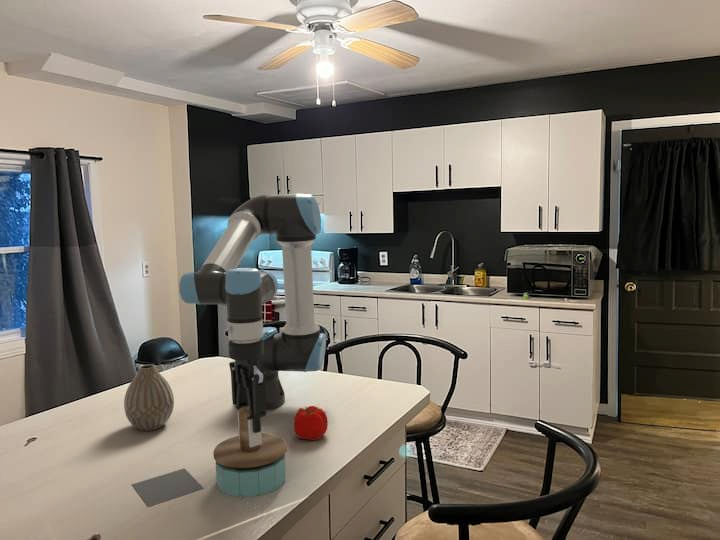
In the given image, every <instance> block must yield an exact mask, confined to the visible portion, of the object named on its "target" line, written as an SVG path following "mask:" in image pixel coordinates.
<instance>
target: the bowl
mask: <svg viewBox="0 0 720 540" xmlns="http://www.w3.org/2000/svg"><path fill="white" fill-rule="evenodd" d="M215 474H216V475H215V479H216V486H217V488H218V489H219V490H220V492H222V493H224V494H226V495H228V496H232V497H240V498H249V497H257V496H263V495H265V494H268V493H271V492H274V491H275V490H277V489H278V488H280V487H281V486H282V485H283V484H284V483H285V480H286V477H287V476H286V453H285V454H284V455H283V456H282V457H281V458H280V459H278V460H276V461H274V462H272V463H269V464H267V465H263V466H259V467H253V468H231V467H226V466H223V465H221V464H219V463H217V462H216V461H215Z"/></svg>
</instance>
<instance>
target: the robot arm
mask: <svg viewBox="0 0 720 540" xmlns="http://www.w3.org/2000/svg"><path fill="white" fill-rule="evenodd" d="M321 231H322V218H321V212H320V207H319V204H318V201H317V199H316V198H315V197H314V196H313V195H312V194H310V193H308V194H306V193H305V194H304V193H289V194H261V195H257V196H255V197H253V198H250V199H248V200H247V201H245V202H244V203H242V204H241V205H239V206H238V207H237V208H236V209H235V210H234V211H233V212H232V213H231V215H230V217H228V220H227V228H226V229H225V230H224V232H223V233H222V235H221V236H220V238H219V239H218V241H217V243H216V244H215V246H214V247H213V249H211V251H210V253H209V255H208V256H207V257H206V259H205V261H204V262H203V264H202V266H201V267H200V268H199V270H198V271H197V272H195V271H191V272H186V273H183V275H182V276H181V278H180V280H179V283H178V284H179V285H178V291H179V296H180V298H181V300H182V301H183V302H184V303H185V304H193V305H226V315H227V317H226V319H227V327H226V329H225V330H226V332H227V334H228V335H227V338H228V339H229V341H228V357H229V358H230V359H231V360H234V361H230V362H229V363H228V365H229V370H230V381H231V382H230V383H231V399H232V400H231V401H232V405H233V406H235V408H236V411H237V421H238V422H237V423H238V427H237V428H239V409H240V408H241V407H244V406H249V413H250V416H249V417H247V419H248V431H249V447H254V446H257V445H261V444H262V435H261V433H262V418H263V417H266V416H267V410H272V409H275V408H278V407H281V406H282V405H283V404H284V403H285V402H286V394H285V391H284V388H283V385H282V382H281V379H280V376H279V372H303V373H307V372H308V373H309V372H318V371H319V370H320V369H321V368H322V366H323V363H324V360H325V355H326V348H327V335H326V334H325V333H323V332H321V328H320V327H321V326H320V325H319V324H317V323H316V321H315V308H314V307H315V306H314V301H315V300H314V283H313V281H314V280H313V263H312V262H313V261H312V244H313V243H315V242H316V239H317V236H316V235H318V234H320V233H321ZM261 235H275V238H276V242H277V244H279V246H281V250H282V252H281V253H282V254H281V255H282V270H283V271H282V273H283V284H284V285H283V286H284V288H283V289H284V305H285V306H284V308H285V321H286V322H285V325H284V326H283V327H282V328H281V332H278V330H277V328H276V327H272V326H267V327H265V326H264V321H263V305H264V304H267V303H268V302H270V301H271V300H273V298H274V297H275V296H276V295H277V292H278V290H279V282H278V279H277V278H276V276H275V275H274V274H273V273H272V272H270V271H268V270H259V269H258V268H255V267H238V266H239V264H240V262H241V261H242V259H243V257H244V255H245V254H246V252H247V251H248V248H249V247H250V245H251V243H252V242H253V241H255V240H257V239H258V238H259V236H261ZM238 436H239V439H240V431H239V430H238Z"/></svg>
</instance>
